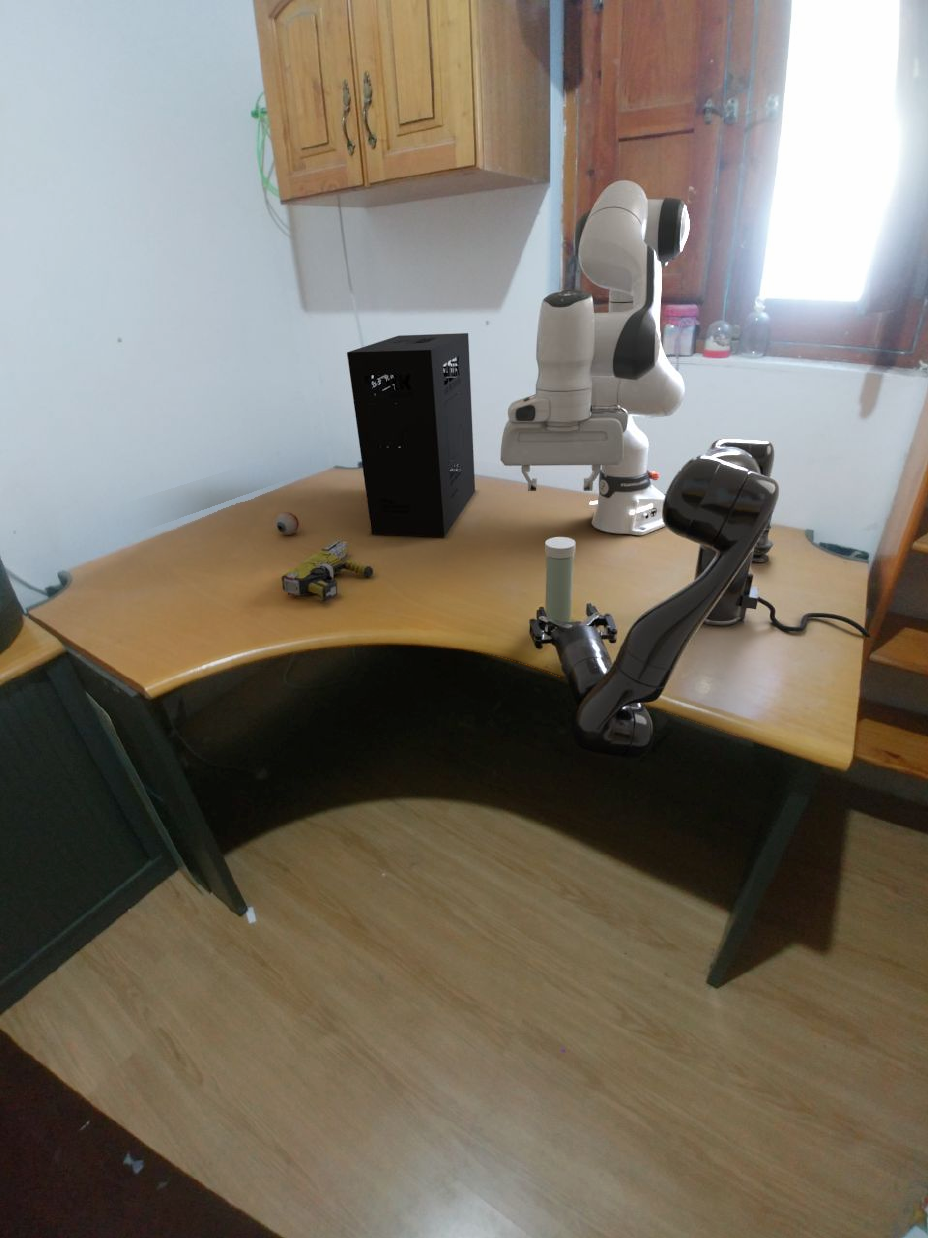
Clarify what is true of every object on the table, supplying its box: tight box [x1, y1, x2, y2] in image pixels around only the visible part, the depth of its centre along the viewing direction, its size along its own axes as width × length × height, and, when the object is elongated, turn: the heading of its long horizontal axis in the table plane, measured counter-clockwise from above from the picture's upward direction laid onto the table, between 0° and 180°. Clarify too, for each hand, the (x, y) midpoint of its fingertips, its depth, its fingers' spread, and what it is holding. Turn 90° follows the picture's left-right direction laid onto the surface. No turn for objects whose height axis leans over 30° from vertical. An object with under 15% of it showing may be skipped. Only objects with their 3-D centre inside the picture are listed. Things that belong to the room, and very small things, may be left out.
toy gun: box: [281, 539, 374, 603], centre depth 138 cm, size 5×24×15 cm
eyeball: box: [275, 511, 300, 536], centre depth 163 cm, size 6×6×6 cm
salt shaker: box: [752, 515, 774, 563], centre depth 134 cm, size 6×6×12 cm
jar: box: [544, 555, 574, 628], centre depth 112 cm, size 5×5×17 cm
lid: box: [544, 536, 576, 559], centre depth 108 cm, size 5×5×2 cm
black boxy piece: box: [346, 332, 476, 538], centre depth 164 cm, size 38×20×45 cm, turn 167°
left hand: (559, 490), depth 103 cm, fingers open, 8 cm apart
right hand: (564, 609), depth 109 cm, fingers open, 8 cm apart
